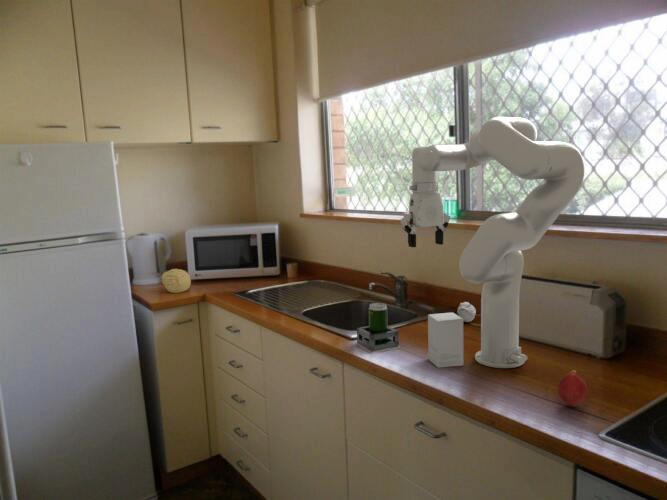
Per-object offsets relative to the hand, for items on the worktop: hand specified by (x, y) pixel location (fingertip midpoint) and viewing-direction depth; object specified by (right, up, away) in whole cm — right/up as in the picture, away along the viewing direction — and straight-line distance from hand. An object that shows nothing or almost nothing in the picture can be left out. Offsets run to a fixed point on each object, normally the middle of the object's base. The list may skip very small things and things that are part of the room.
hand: (425, 245), depth 161 cm
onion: (+23, -35, -48) cm, 64 cm away
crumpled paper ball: (+17, -26, +17) cm, 35 cm away
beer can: (-15, -30, -4) cm, 33 cm away
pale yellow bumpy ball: (-100, -21, +83) cm, 132 cm away
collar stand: (-15, -30, -4) cm, 34 cm away
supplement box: (+2, -32, -20) cm, 37 cm away
